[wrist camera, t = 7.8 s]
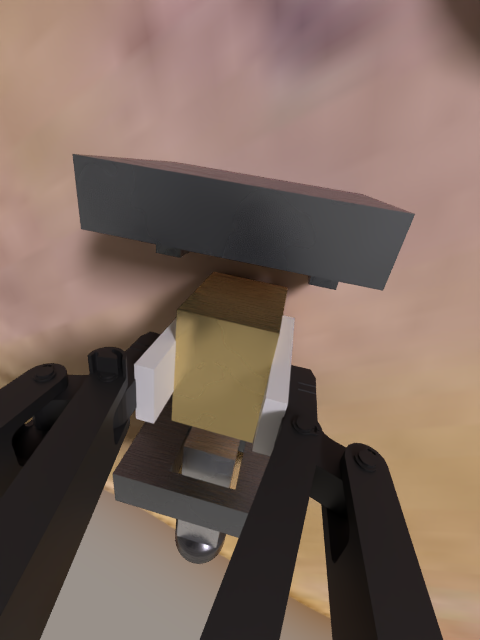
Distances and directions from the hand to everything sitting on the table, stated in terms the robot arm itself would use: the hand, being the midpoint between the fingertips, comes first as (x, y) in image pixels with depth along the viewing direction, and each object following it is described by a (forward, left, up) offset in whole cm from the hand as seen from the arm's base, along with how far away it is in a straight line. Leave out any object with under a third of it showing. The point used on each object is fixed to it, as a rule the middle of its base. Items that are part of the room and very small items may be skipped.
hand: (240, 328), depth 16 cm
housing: (0, -1, -1) cm, 2 cm away
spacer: (0, 0, 0) cm, 0 cm away
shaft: (0, -12, 0) cm, 12 cm away
